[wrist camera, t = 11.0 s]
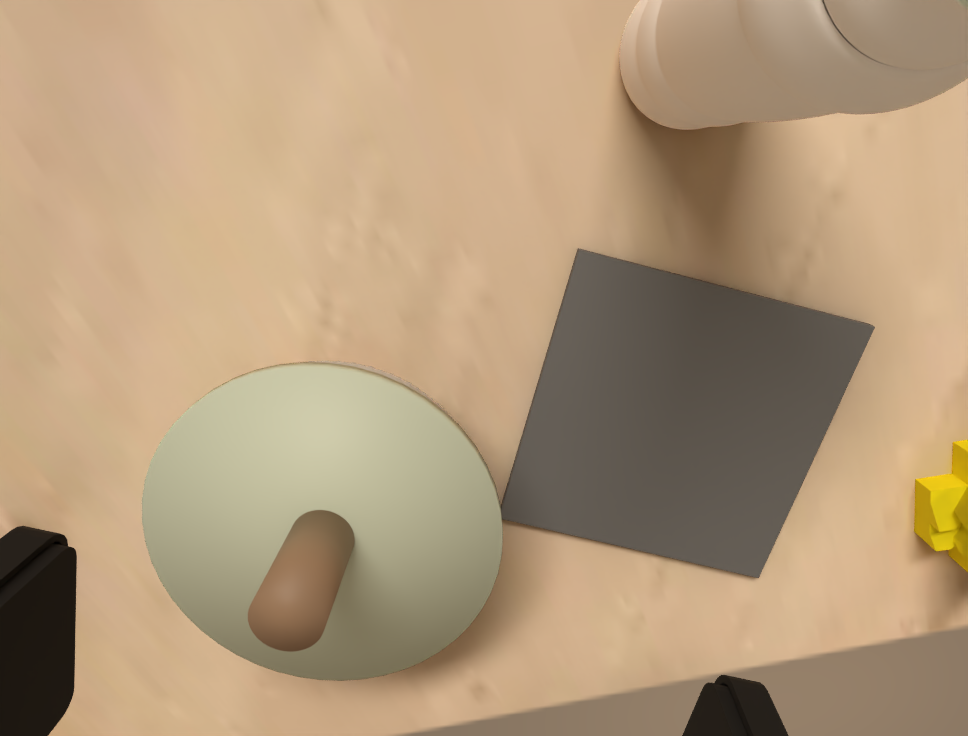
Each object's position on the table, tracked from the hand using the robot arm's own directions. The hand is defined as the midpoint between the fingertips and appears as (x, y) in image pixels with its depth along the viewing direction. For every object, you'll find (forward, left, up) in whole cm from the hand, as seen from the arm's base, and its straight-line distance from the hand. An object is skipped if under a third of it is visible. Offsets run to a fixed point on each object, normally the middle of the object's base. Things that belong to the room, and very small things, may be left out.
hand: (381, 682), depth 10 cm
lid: (+4, +12, -21) cm, 25 cm away
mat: (-14, +5, -28) cm, 32 cm away
